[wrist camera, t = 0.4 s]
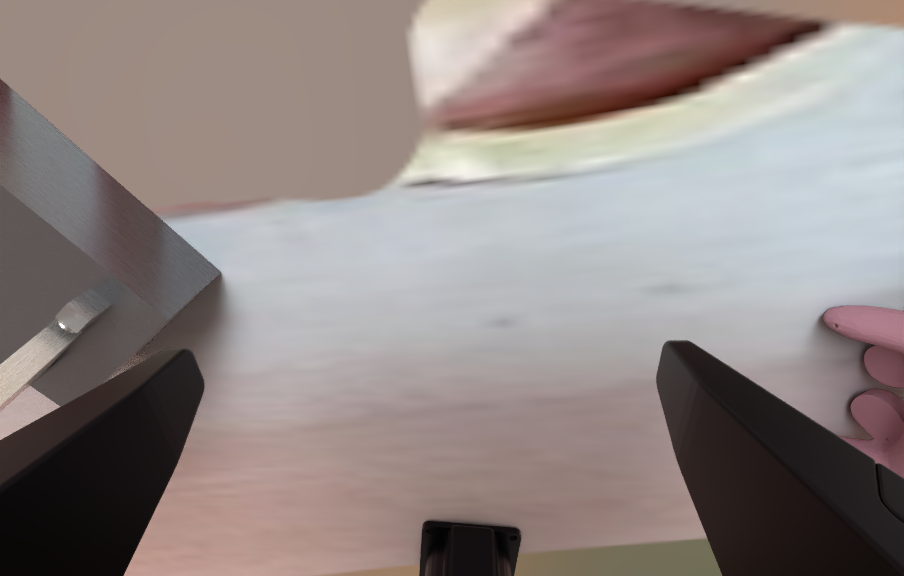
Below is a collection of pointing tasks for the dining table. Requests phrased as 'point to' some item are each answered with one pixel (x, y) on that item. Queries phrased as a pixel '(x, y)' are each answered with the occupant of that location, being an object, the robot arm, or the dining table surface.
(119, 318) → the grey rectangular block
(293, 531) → the dining table surface
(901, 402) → the pink curved piece
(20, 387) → the light grey flat bar
